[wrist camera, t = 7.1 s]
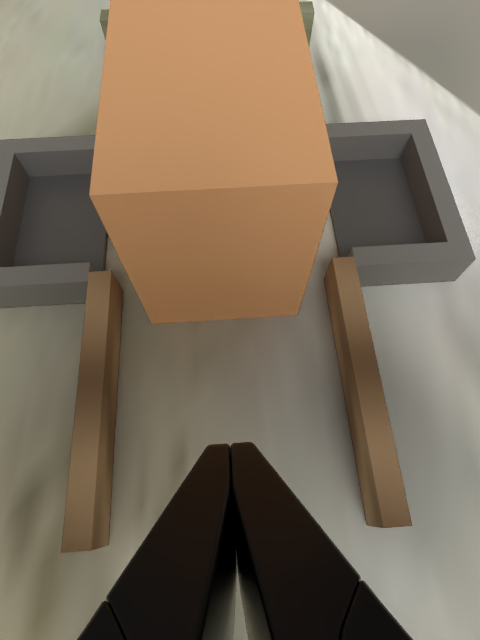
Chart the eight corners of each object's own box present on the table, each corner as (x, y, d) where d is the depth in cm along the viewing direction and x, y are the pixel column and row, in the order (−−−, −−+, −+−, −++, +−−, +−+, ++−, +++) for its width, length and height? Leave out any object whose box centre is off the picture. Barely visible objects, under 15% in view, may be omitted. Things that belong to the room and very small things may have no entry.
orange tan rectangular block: (297, 316, 20) (338, 182, 12) (152, 325, 20) (89, 195, 11) (267, 102, 26) (280, -84, 18) (157, 108, 26) (118, -78, 18)
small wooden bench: (392, 523, 16) (437, 528, 12) (81, 547, 16) (33, 560, 12) (302, 69, 27) (312, 1, 23) (120, 77, 27) (101, 9, 23)
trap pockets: (454, 280, 20) (475, 258, 19) (-13, 308, 20) (-39, 288, 18) (411, 148, 24) (425, 119, 22) (16, 168, 23) (-2, 140, 22)
